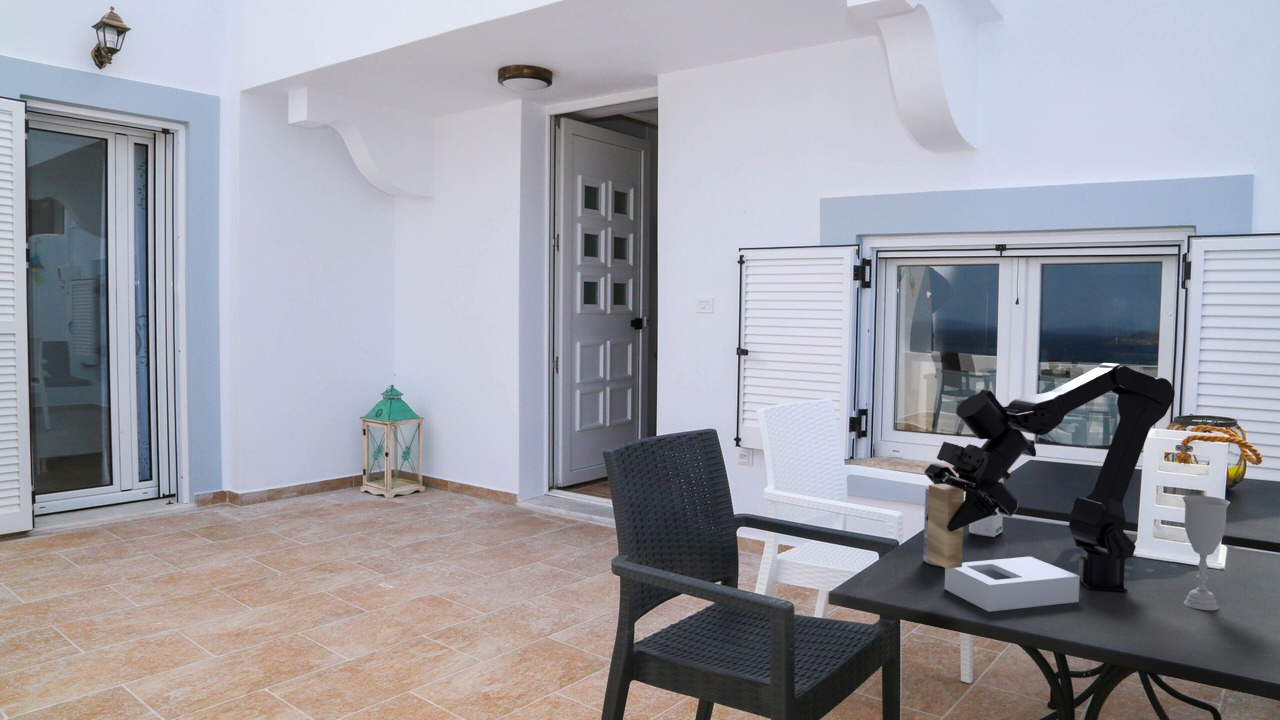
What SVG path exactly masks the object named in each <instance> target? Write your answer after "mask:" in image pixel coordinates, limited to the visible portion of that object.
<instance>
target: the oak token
mask: <svg viewBox="0 0 1280 720" xmlns="http://www.w3.org/2000/svg"><path fill="white" fill-rule="evenodd" d="M928 486H929V499H928V537H927V560H930V561H932V562H934V563H936V564H938V565H940V566H939V567H943V568H944V569H945V568H946V569H947V568H958V567H962V563H963V542H964V540H963V538H964V527H961V528H959V529H957V530H954V531H952V532H951V531H949V530H948V529H947V525H948V524H949V522H950V520H951V519H952V517H953V516H954V515H955V513H956V512H957V510H958V509H959V508H960V506H961V505H962V504H963V502H964V501H965V492H964V490H962V489H959V488H956V487H953V486H950V485H946V484H934V483H933V484H932V483H931V484H928Z"/></svg>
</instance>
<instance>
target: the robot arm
mask: <svg viewBox="0 0 1280 720" xmlns="http://www.w3.org/2000/svg"><path fill="white" fill-rule="evenodd" d="M1109 392H1111V393H1113V394H1114V395H1117V400H1116V405H1117V406H1116V407H1117V409H1118V410H1117V411H1118V415H1119V421H1118V423H1117V426H1116V430H1115V432H1114V434H1113V437H1112V440H1111V442H1110V445H1109V447H1108V450H1107V452H1106V453H1107V454H1106V456H1105V458H1104V461H1103V464H1102V467H1101V469H1100V471H1099V475H1098V477H1097V480H1096V482H1095V485H1094V487H1093V490H1092V492H1091V493H1090V494H1089V495H1087V496H1086V497H1085V498H1084V497H1079V496H1078V497H1076V499H1075V500H1074V504H1073V508H1072V510H1071V512H1070V513H1069V514H1068V516H1067V517H1068V519H1069V518H1070V519H1069V523H1068V529H1069V530H1070V533H1071V534H1072V536H1073V540H1074V543H1075V547H1076V548H1082V554H1081V555H1082V556H1079V557H1078V573H1077V575H1078V576H1080V577H1079V582H1081V583H1082V585H1084V586H1085V587H1086V588H1087V589H1089V590H1093V591H1094V590H1097V591H1114V592H1116V591H1117V592H1128V587H1127V586H1125V573H1126V572H1125V570H1126V569H1125V568H1126V560H1127V559H1128V558H1129V559H1130V558H1133V557H1134V553H1135V550H1136V544H1135V543H1134V542H1133V541H1132V539H1130V538H1129V536H1128V535H1127V534H1126V533H1125V525H1126V521H1127V520H1126V519H1127V518H1126V513H1125V510H1124V508H1125V507H1124V505H1123V502H1124V499H1125V496H1126V494H1127V491H1128V488H1129V486H1130V484H1131V481H1132V477H1133V475H1134V473H1135V470H1136V467H1137V464H1138V462H1139V458H1140V457H1141V453H1142V451H1143V447H1144V446H1145V443H1146V440H1147V438H1148V435H1149V433H1150V429H1151V428H1153V426H1155V425H1156V424H1157V423H1158V422H1159V421H1160V420H1162V419H1163V418H1164V417H1165V416H1166V414H1167V412H1168V411H1169V409H1170V407H1171V405H1172V404H1173V402H1174V399H1175V395H1176V394H1175V389H1174V388H1173V385H1172V383H1171V381H1169V380H1168V379H1167V378H1164V377H1156V376H1151V375H1148V374H1146V373H1143V372H1140V371H1137V370H1134V369H1133V368H1130V367H1128V366H1126V365H1125V364H1122V363H1121V364H1120V363H1113V362H1112V363H1111V362H1110V363H1109V362H1102V363H1101V364H1098V365H1097V366H1096V367H1095V368H1093V369H1091V370H1089V371H1088V372H1085V373H1084V374H1081V375H1080V376H1078V377H1077V376H1076V378H1074V379H1071V380H1069V381H1068V382H1066V383H1064V384H1061V385H1059V386H1057V387H1056V388H1054V389H1052V390H1050V391H1047V392H1043V393H1035V394H1028V395H1026V396H1022V397H1019V398H1015V399H1013V400H1012V401H1010V402H1009V404H1008V405H1002V404H1001V403H1000V402H999V401H998V399H997V398H996V396H995V394H994V393H993V392H992V391H991V390H989V389H981V390H980V392H978V393H976V394H973V395H971V396H969V397H968V398H966V399H964V400H962V401H961V402H960V403H959V405H958V406H957V409H956V416H957V417H958V418H959V419H960V420H961V421H962V422H963V423H964V425H965V426H966V427H967V428H968V430H969V431H971V433H972V434H973V435H974V436H975V437H976V438H977V439H978V440H986V441H985V442H984V443H983V444H982V446H981V447H979V446H978V445H975V444H970V443H969V444H967V445H966V446H962V445H959V444H956V443H951V442H948V441H943V442H942V444H941V446H940V449H939V451H938V454H937V456H936V459H937V460H939V461H943V462H946V463H948V464H949V465H951V466H953V467H952V468H949V466H946V465H942V464H939V463H930V464H929V465H928V466H927V468H926V469H925V470H924V471H923V473H924V474H925V476H926V477H927V478H928V479H929V480H930V481H931V482H932V483H933V484H946V485H950V486H953V487H956V488H959V489H962V490H964V502H963V504H962V505H961V506H960V508H959V509H958V510H957V512H956V513H955V515H954V516H953V517H952V519H951V520H950V522H949V524H948V525H947V529H948V530H949V531H951V532H952V531H954V530H957V529H959V528H961V527H963V528H964V527H966V526H969V524H971V523H973V522H976V521H978V520H981V519H984V518H987V517H989V516H996V515H997V512H996V511H995V510H996V509H997V508H998V511H999V513H1001V514H1003V516H1007V517H1010V518H1012V516H1013V515H1014V514H1015V513H1016V511H1018V508H1019V500H1018V499H1017V498H1016V497H1015V495H1014V494H1013V493H1012V492H1011V491H1010V489H1008V488H1007V486H1005V483H1004V484H1003V483H1001V482H999V481H1000V479H1001V478H1002V479H1004V480H1006V481H1008V479H1009V478H1010V477H1011V474H1010V473H1009V470H1010V468H1012V466H1013V465H1015V463H1016V462H1017V460H1018V459H1019V458H1020V457H1021V456H1022V455H1024V456H1029V457H1033V458H1034V457H1036V456H1037V451H1036V450H1037V449H1036V447H1035V442H1036V441H1035V440H1033V439H1028V438H1027V437H1026V436H1025V435H1024V434H1023V433H1026V434H1032V435H1036V436H1045V435H1047V434H1049V433H1050V432H1052V431H1053V430H1055V429H1056V428H1057V427H1058V426H1059V425H1061V424H1062V422H1063V420H1064V419H1065V416H1067V415H1068V414H1069V413H1071V412H1072V411H1074V410H1076V409H1079V408H1080V407H1082V406H1084V405H1086V404H1088V403H1090V402H1091V401H1094V400H1096V399H1097V398H1099V397H1102V396H1104V395H1105V394H1107V393H1109ZM1022 432H1023V433H1022ZM955 473H956V474H957V475H958V476H957V475H956V474H955ZM926 520H927V521H928V514H927V517H926Z"/></svg>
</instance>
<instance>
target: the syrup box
mask: <svg viewBox="0 0 1280 720" xmlns="http://www.w3.org/2000/svg"><path fill="white" fill-rule="evenodd" d="M1004 480H1005V479H1002V478H1001V479H1000V481H999V482H1001V483H1003V484H1004V485H1005V483H1004ZM995 511H996V512H997V515H996V516H989V517H987V518H984V519H981V520H978V521H976V522H973V523H971V524H968V532H969V533H970V534H974V535H979V536H985V537H990V538H991V537H992V538H995V537H996V536H998V535H999V534H1002V533H1003V532H1004V515H1003V514H1001V513H999V511H998V508H997V509H996V510H995Z"/></svg>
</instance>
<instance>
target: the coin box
mask: <svg viewBox="0 0 1280 720" xmlns="http://www.w3.org/2000/svg"><path fill="white" fill-rule="evenodd" d="M1079 577H1080V576H1078V574H1076V573H1072V572H1070V571H1069V570H1065V569H1063V568H1061V567H1057V566H1055V565H1052V564H1050V563H1047V562H1044V561H1042V560H1040V559H1037V558H1035V557H1034V556H1023V557H1022V556H1021V557H1012V558H1011V557H1010V558H1000V559H999V558H998V559H987V560H976V561H966V562H962V567H958V568H947V569H946V568H944V590H946V591H948V592H949V593H952V594H954V595H955V596H957V597H959V598H961V599H963V600H965V601H967V602H968V603H971V604H972V605H975V606H977V607H978V608H981V609H983V610H984V611H986V612H988V613H989V612H997V611H998V612H999V611H1007V610H1016V609H1027V608H1033V607H1044V606H1052V605H1059V604H1060V605H1062V604H1071V603H1073V604H1074V603H1079V600H1080V598H1079V597H1080V580H1079Z"/></svg>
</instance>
